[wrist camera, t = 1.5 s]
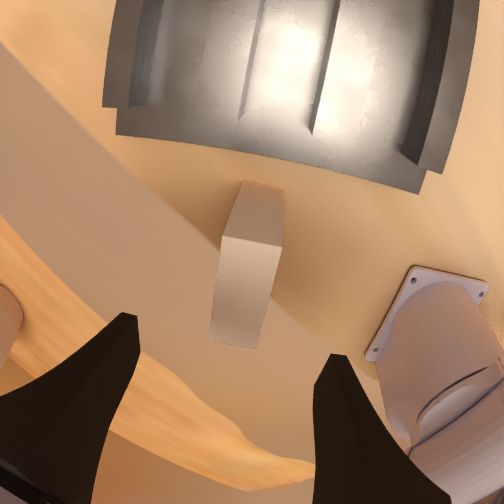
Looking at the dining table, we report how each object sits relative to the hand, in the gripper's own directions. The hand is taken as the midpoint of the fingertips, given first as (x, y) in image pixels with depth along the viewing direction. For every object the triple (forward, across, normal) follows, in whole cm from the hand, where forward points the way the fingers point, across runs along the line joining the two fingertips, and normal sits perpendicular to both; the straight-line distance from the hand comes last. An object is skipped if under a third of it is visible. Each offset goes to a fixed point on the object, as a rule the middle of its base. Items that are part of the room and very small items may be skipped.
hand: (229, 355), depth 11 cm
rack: (+10, 0, -13) cm, 17 cm away
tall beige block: (+10, 0, 0) cm, 10 cm away
